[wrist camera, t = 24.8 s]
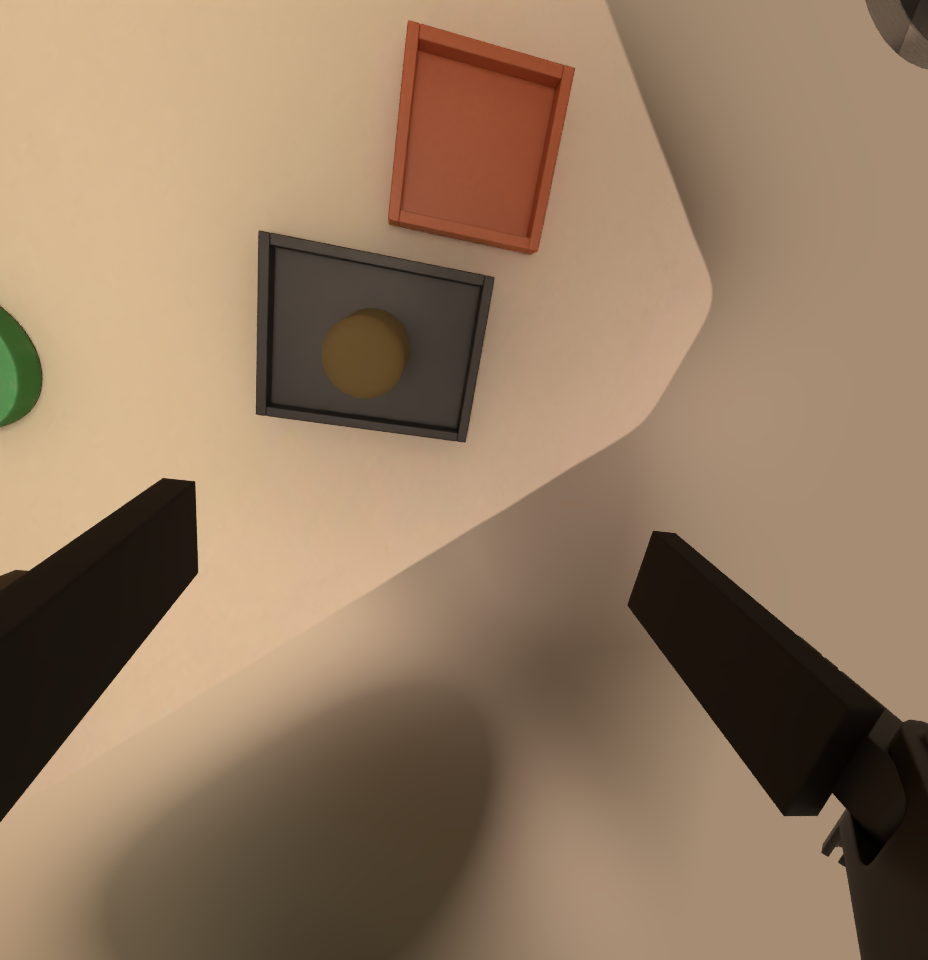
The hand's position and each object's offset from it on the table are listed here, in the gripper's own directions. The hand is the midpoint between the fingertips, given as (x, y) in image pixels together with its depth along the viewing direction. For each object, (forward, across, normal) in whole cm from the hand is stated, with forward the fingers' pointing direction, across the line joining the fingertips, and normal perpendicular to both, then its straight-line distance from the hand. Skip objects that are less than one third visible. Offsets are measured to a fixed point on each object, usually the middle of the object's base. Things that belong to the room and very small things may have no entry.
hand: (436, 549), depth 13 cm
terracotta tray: (+29, +2, +18) cm, 34 cm away
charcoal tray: (+29, -4, +3) cm, 29 cm away
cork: (+28, -4, +3) cm, 29 cm away
